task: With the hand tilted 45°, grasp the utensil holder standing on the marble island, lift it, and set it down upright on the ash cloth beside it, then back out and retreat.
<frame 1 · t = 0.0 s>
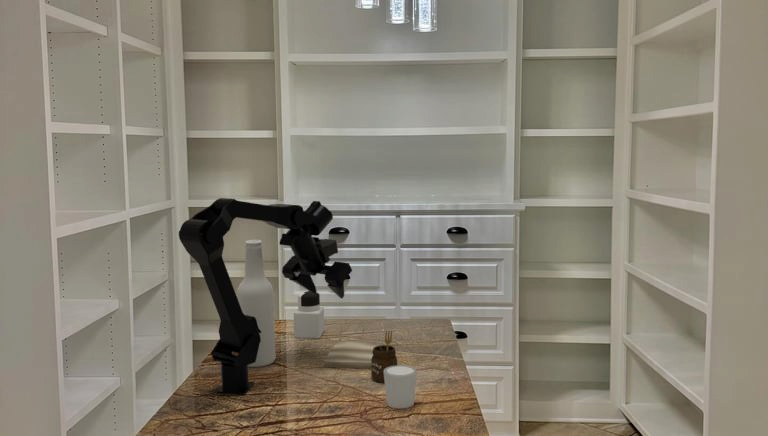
hand: (328, 294, 170), 15 cm above the countertop, tool tilted 35°, fingers open, 9 cm apart
white cup: (400, 404, 138), on the countertop
ash cloth: (358, 357, 167), on the countertop
medicine bottle: (309, 335, 187), on the countertop
utensil holder: (384, 379, 152), on the countertop
alcohol: (257, 362, 164), on the countertop
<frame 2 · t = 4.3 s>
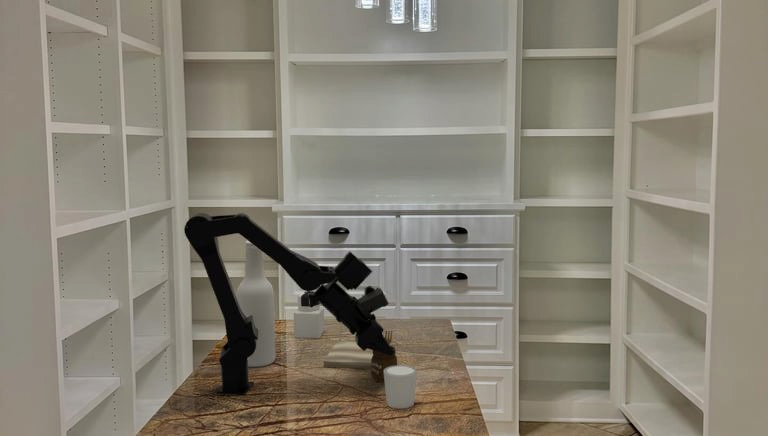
hand: (390, 349, 151), 7 cm above the countertop, tool tilted 45°, fingers closed on utensil holder, 6 cm apart
utensil holder: (384, 379, 152), on the countertop, touching gripper
everything else where it was.
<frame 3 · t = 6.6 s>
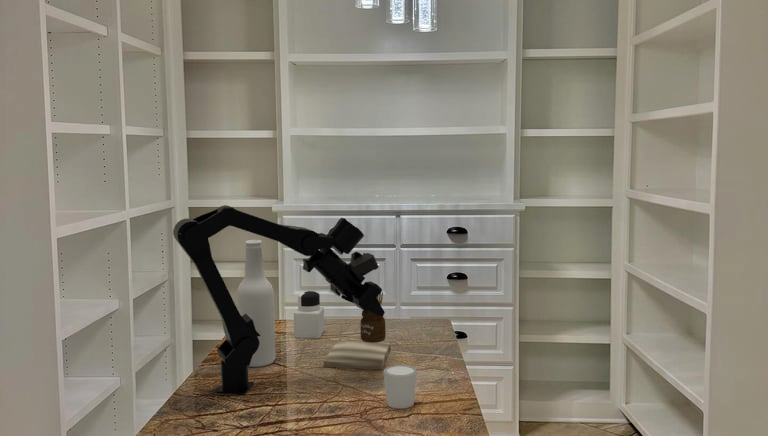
hand: (378, 311, 159), 13 cm above the countertop, tool tilted 45°, fingers closed on utensil holder, 6 cm apart
utensil holder: (373, 340, 159), point 6 cm above the countertop, touching gripper
everything else where it was.
when the fingers open (9 cm above the countertop, at t = 8.5 s): utensil holder drops 1 cm, resting on ash cloth.
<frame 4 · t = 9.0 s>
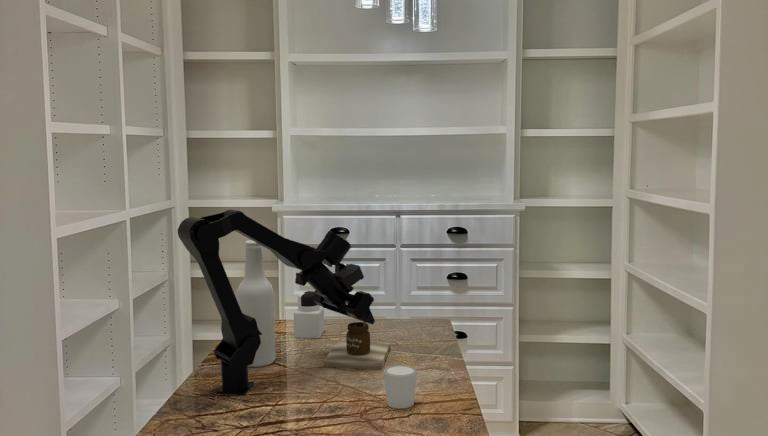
hand: (362, 318, 167), 10 cm above the countertop, tool tilted 45°, fingers open, 9 cm apart
utensil holder: (358, 353, 166), point 1 cm above the countertop, touching ash cloth
everything else where it was.
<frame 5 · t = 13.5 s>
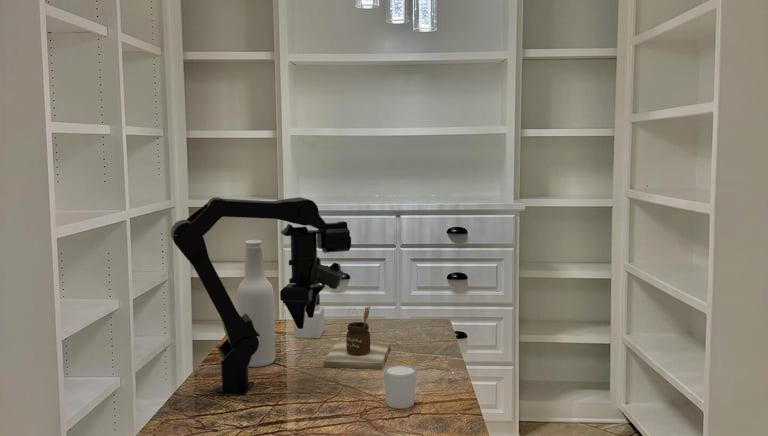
hand: (305, 322, 151), 13 cm above the countertop, tool pointing down, fingers open, 9 cm apart
nothing on the countertop moved.
at the end: utensil holder inside the target area on the ash cloth (0.8 cm from its centre), point 1.3 cm above the ash cloth's base; utensil holder tilted 0°; the gripper is holding nothing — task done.
